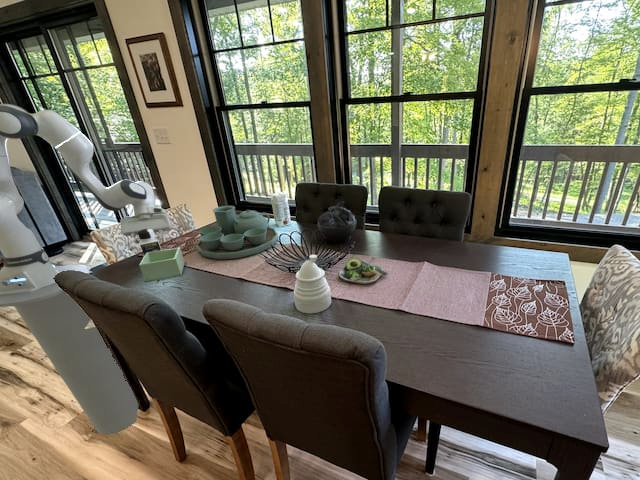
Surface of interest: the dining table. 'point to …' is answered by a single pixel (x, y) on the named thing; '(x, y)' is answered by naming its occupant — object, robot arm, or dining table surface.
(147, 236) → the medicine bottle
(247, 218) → the tea set
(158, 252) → the bin
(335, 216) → the coal bowl
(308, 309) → the honey pot
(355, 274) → the salad plate
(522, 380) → the dining table surface
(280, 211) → the white ribbed cylinder
